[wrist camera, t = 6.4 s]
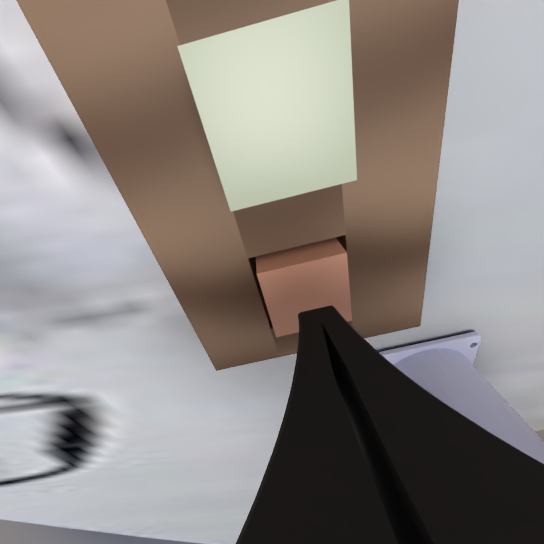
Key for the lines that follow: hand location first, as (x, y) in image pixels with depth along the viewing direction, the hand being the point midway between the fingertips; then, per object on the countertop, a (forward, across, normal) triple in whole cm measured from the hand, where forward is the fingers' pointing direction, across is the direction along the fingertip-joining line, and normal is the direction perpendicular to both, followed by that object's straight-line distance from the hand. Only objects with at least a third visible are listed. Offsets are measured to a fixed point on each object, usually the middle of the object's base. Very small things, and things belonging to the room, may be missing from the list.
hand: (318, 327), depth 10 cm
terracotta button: (+5, 0, 0) cm, 5 cm away
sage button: (+3, 0, -7) cm, 8 cm away
